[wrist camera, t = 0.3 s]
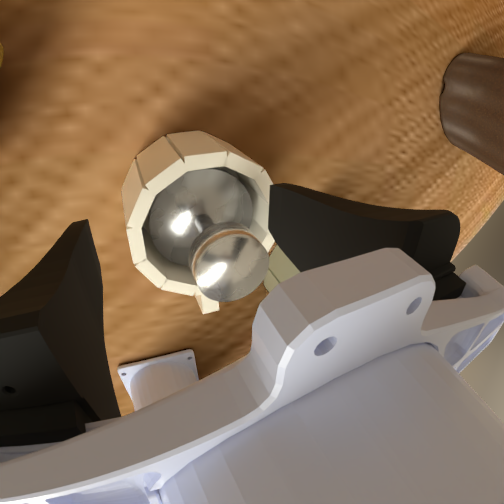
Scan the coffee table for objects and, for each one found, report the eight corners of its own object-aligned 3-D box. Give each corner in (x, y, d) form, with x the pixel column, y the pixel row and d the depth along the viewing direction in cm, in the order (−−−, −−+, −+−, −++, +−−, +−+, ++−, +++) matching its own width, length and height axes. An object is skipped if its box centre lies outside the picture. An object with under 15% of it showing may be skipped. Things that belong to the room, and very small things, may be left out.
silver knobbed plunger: (141, 176, 16) (157, 224, 12) (249, 160, 19) (301, 198, 14) (155, 270, 20) (176, 335, 16) (247, 250, 22) (288, 304, 18)
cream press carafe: (114, 142, 18) (116, 167, 14) (246, 126, 21) (285, 146, 17) (139, 285, 25) (151, 334, 20) (244, 261, 28) (272, 302, 24)
